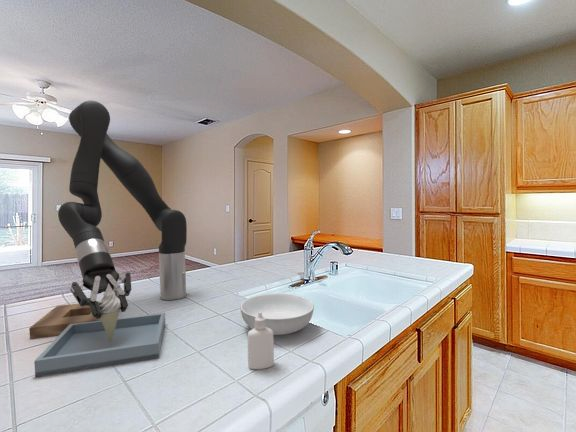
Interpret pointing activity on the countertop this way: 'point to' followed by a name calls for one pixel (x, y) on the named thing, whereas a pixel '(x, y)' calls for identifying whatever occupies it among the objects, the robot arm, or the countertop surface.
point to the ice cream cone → (109, 311)
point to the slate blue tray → (102, 345)
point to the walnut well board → (61, 320)
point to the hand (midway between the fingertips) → (112, 313)
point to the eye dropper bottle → (260, 345)
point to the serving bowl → (278, 312)
